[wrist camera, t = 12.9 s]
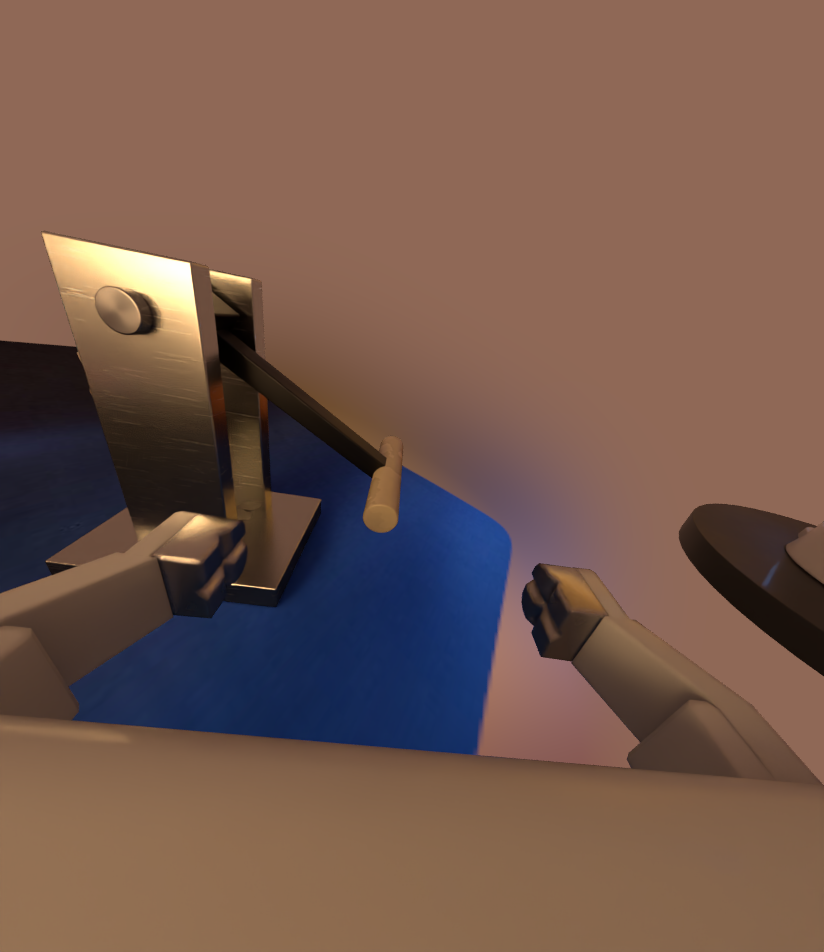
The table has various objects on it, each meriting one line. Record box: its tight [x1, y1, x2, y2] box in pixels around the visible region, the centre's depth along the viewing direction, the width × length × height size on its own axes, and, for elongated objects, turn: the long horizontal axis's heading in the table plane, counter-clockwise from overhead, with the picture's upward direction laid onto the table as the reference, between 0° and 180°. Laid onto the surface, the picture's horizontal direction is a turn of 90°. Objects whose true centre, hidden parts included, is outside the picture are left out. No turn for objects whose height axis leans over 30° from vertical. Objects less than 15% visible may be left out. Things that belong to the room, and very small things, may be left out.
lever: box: [212, 292, 403, 533], centre depth 14 cm, size 13×8×2 cm
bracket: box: [41, 231, 321, 607], centre depth 14 cm, size 10×8×14 cm
